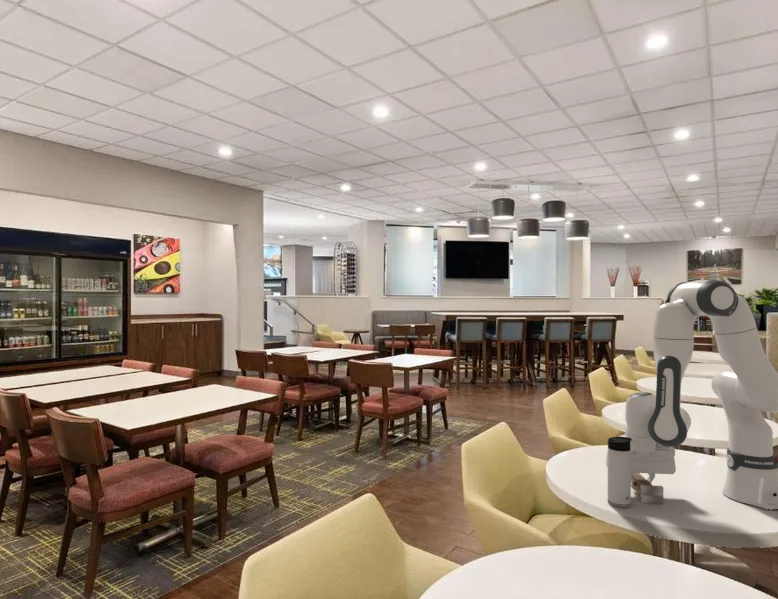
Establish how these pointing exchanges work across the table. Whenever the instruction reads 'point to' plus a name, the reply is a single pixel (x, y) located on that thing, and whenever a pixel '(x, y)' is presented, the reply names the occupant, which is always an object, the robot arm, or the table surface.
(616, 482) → the travel mug
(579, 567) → the table surface
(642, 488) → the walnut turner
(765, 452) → the robot arm
